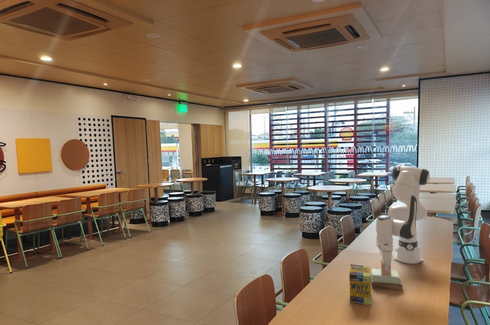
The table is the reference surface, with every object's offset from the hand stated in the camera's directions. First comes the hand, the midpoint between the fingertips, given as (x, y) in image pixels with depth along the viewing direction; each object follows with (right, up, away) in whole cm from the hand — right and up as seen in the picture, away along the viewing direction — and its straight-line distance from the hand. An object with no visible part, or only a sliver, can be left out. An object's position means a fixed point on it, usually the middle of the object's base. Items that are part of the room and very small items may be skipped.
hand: (385, 267), depth 188 cm
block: (0, -4, 0) cm, 4 cm away
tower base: (+1, -12, +1) cm, 12 cm away
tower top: (0, -8, +1) cm, 8 cm away
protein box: (-19, -13, -13) cm, 26 cm away
